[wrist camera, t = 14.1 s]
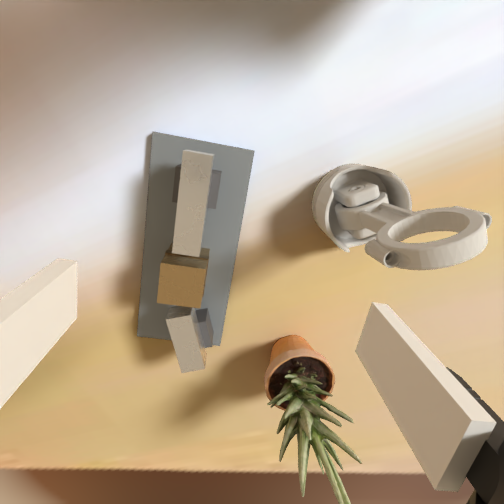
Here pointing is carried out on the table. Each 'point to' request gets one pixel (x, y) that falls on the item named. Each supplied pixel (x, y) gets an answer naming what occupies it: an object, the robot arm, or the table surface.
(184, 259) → the tan cardboard block
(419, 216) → the engine component
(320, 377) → the potted plant
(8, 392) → the robot arm
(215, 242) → the shaft bench
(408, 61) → the table surface
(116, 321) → the table surface
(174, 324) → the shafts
